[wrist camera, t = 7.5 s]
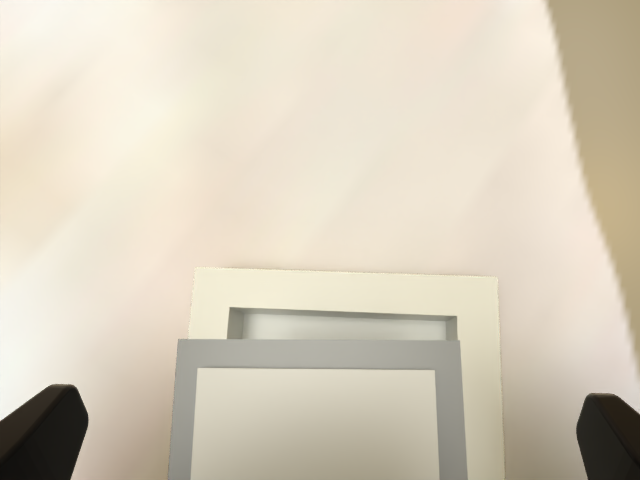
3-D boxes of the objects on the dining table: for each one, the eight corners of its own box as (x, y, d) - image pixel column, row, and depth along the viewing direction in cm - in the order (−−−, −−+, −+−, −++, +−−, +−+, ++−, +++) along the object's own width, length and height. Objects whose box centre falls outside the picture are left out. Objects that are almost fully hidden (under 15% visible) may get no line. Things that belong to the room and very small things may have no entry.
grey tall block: (412, 502, 16) (484, 694, 7) (267, 498, 16) (145, 675, 7) (407, 352, 17) (463, 339, 8) (272, 351, 17) (171, 338, 8)
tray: (484, 587, 16) (510, 635, 13) (193, 563, 16) (159, 602, 14) (476, 289, 18) (497, 276, 15) (219, 281, 18) (194, 266, 16)
